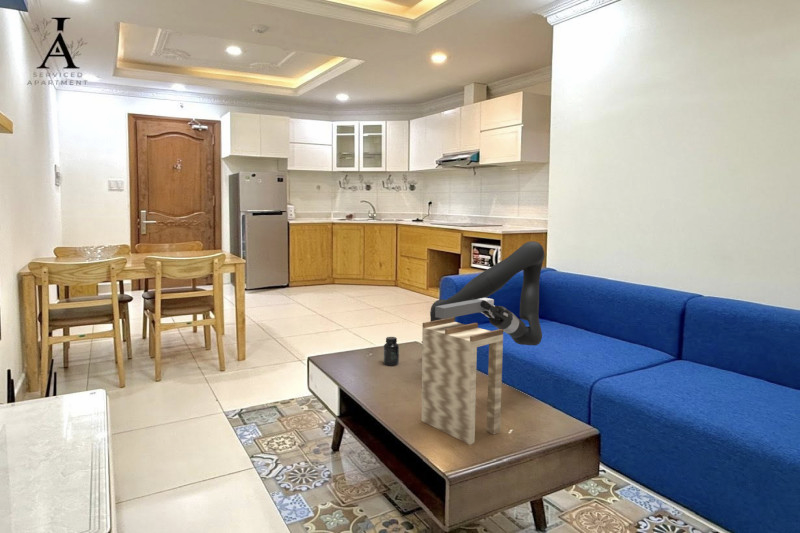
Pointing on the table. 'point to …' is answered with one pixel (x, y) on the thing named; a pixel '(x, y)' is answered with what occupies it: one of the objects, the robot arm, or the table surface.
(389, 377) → the table surface
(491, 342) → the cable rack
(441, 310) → the grey rectangular bar
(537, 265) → the robot arm
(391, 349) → the supplement bottle
